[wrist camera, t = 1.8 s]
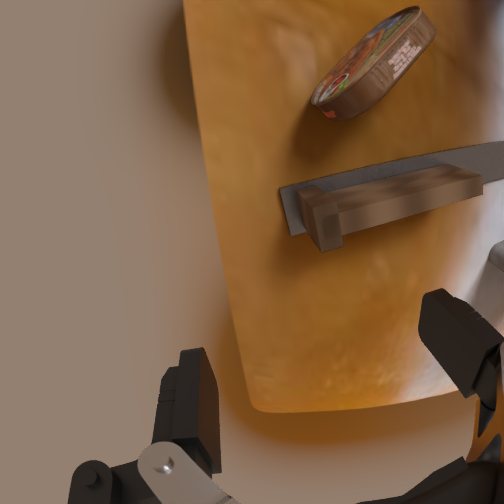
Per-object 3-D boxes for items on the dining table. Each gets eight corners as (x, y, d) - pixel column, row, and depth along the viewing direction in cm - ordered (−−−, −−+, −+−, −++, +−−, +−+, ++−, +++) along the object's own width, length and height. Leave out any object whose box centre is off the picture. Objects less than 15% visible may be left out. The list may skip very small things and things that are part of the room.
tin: (386, 14, 22) (430, -7, 14) (406, 36, 23) (454, 21, 15) (299, 104, 26) (326, 98, 18) (323, 126, 27) (358, 129, 19)
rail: (517, 138, 28) (519, 139, 27) (518, 172, 30) (521, 173, 29) (278, 188, 29) (279, 189, 29) (290, 234, 31) (291, 236, 31)
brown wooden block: (447, 155, 28) (482, 165, 22) (449, 188, 30) (482, 203, 24) (296, 190, 29) (312, 207, 23) (304, 228, 30) (321, 252, 25)
